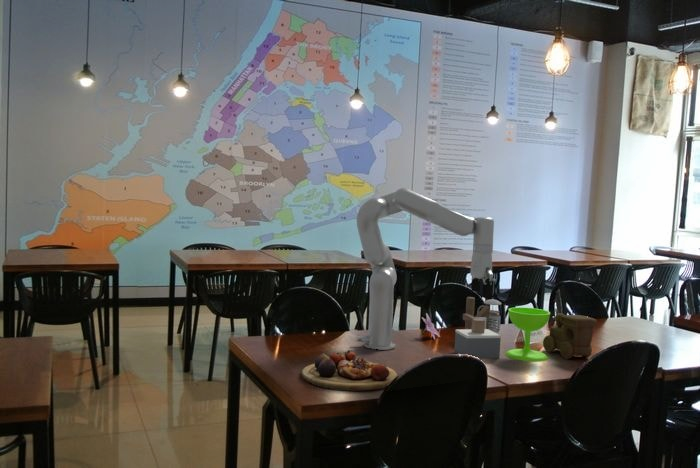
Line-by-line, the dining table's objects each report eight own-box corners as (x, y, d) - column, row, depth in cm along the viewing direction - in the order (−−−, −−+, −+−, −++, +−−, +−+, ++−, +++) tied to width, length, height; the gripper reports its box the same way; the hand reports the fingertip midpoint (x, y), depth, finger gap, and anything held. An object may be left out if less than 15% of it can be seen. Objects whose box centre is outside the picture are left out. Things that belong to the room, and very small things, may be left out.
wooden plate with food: (417, 384, 206) (418, 359, 206) (335, 398, 188) (337, 370, 188) (360, 363, 233) (361, 340, 232) (284, 372, 214) (285, 348, 214)
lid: (466, 340, 241) (467, 322, 240) (455, 334, 251) (456, 317, 251) (500, 340, 244) (501, 322, 244) (487, 334, 255) (488, 316, 254)
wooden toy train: (596, 361, 247) (599, 319, 246) (572, 362, 243) (575, 320, 242) (561, 348, 266) (564, 309, 265) (539, 350, 261) (541, 310, 260)
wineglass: (497, 352, 254) (499, 308, 253) (529, 350, 260) (532, 306, 259) (523, 362, 239) (526, 315, 238) (556, 359, 246) (559, 314, 245)
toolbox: (465, 359, 241) (467, 325, 240) (450, 349, 255) (452, 317, 254) (500, 358, 244) (502, 324, 244) (483, 349, 258) (485, 317, 258)
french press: (504, 334, 288) (507, 280, 286) (478, 333, 288) (481, 279, 286) (499, 330, 298) (502, 277, 296) (474, 329, 298) (477, 276, 296)
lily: (422, 343, 269) (434, 325, 267) (406, 327, 277) (417, 309, 276) (438, 348, 277) (450, 330, 275) (422, 333, 285) (433, 315, 284)
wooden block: (488, 338, 279) (490, 297, 278) (466, 339, 276) (469, 298, 275) (483, 336, 283) (486, 296, 282) (462, 337, 279) (464, 296, 278)
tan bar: (478, 327, 256) (479, 321, 256) (462, 319, 271) (463, 313, 271) (483, 327, 256) (483, 321, 256) (467, 319, 272) (467, 313, 272)
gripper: (464, 247, 253) (462, 289, 254) (483, 251, 236) (481, 296, 237) (481, 247, 255) (480, 289, 256) (502, 251, 238) (500, 296, 239)
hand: (480, 292), depth 246 cm, fingers open, 9 cm apart
